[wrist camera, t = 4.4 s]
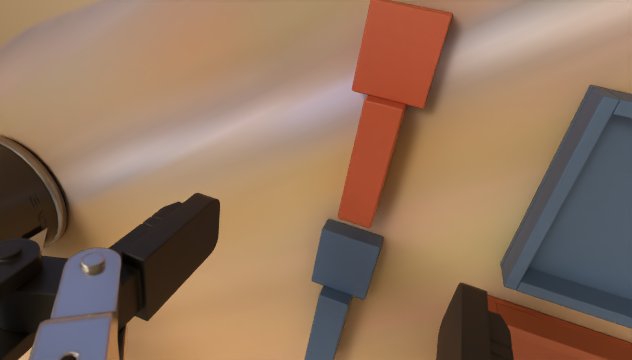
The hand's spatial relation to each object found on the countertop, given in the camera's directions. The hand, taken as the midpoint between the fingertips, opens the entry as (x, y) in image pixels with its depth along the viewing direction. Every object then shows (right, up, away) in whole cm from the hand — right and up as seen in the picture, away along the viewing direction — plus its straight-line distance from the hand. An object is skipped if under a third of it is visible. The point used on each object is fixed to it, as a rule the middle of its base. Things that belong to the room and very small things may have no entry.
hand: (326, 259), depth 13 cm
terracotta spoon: (+3, +5, +7) cm, 10 cm away
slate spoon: (+1, -5, +13) cm, 14 cm away
